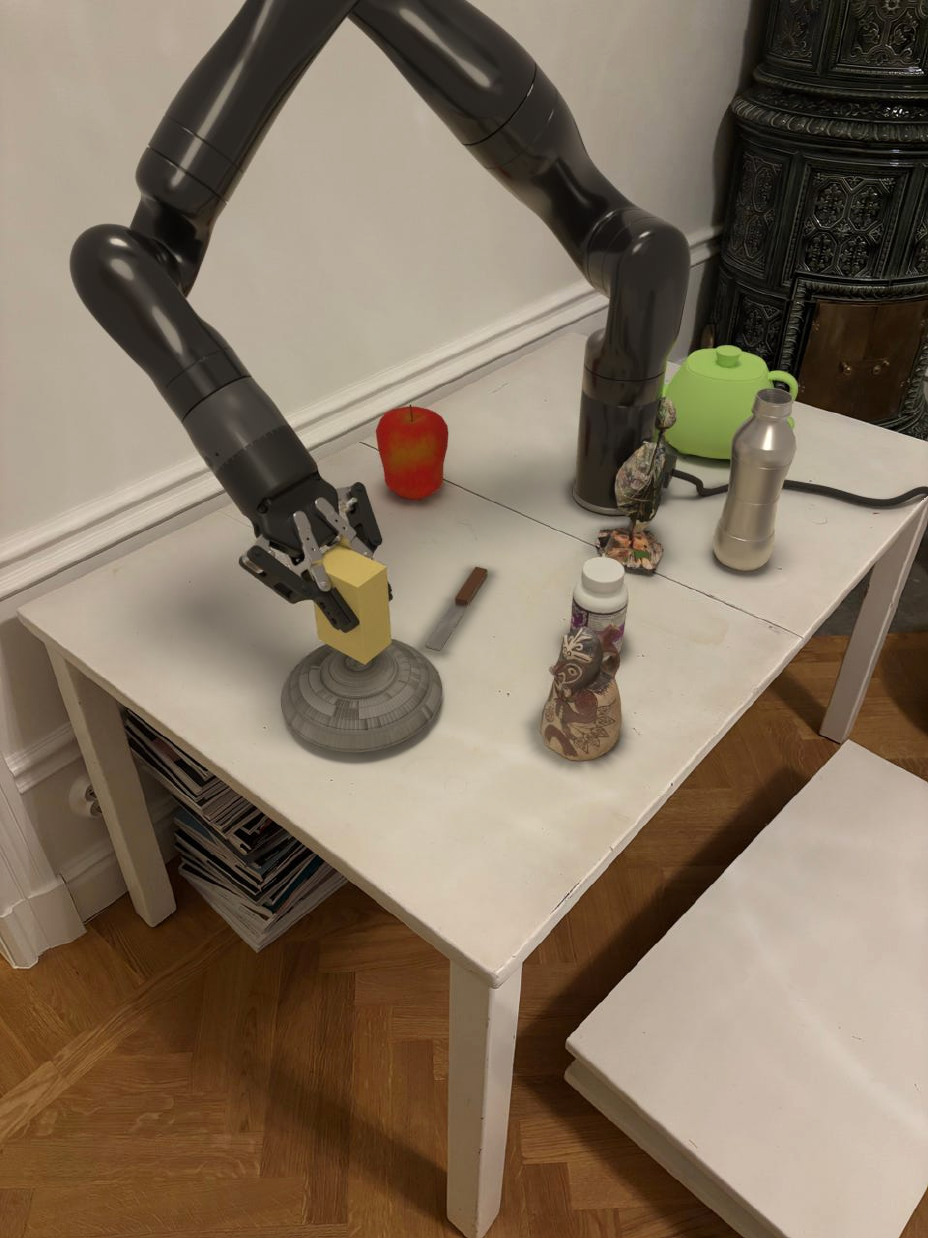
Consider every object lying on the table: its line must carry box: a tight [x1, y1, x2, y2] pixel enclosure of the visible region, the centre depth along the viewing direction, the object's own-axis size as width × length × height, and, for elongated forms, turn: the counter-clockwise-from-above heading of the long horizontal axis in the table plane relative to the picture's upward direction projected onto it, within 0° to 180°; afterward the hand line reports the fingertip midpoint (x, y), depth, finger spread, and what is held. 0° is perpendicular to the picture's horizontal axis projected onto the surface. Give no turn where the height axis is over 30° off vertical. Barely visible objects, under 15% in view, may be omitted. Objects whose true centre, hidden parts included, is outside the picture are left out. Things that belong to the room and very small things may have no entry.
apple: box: [375, 404, 450, 501], centre depth 114 cm, size 9×8×12 cm
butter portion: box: [312, 545, 392, 664], centre depth 81 cm, size 4×6×8 cm, turn 53°
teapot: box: [662, 344, 799, 461], centre depth 123 cm, size 22×15×13 cm
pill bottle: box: [569, 556, 630, 661], centre depth 92 cm, size 5×5×10 cm
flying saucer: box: [280, 638, 443, 753], centre depth 87 cm, size 15×15×6 cm
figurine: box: [539, 623, 623, 761], centre depth 82 cm, size 7×7×12 cm
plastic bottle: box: [712, 387, 797, 572], centre depth 99 cm, size 6×7×20 cm
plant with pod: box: [595, 396, 677, 574], centre depth 101 cm, size 8×11×20 cm
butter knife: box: [425, 566, 488, 651], centre depth 99 cm, size 14×2×1 cm, turn 158°
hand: (369, 615), depth 80 cm, fingers closed on butter portion, 3 cm apart
